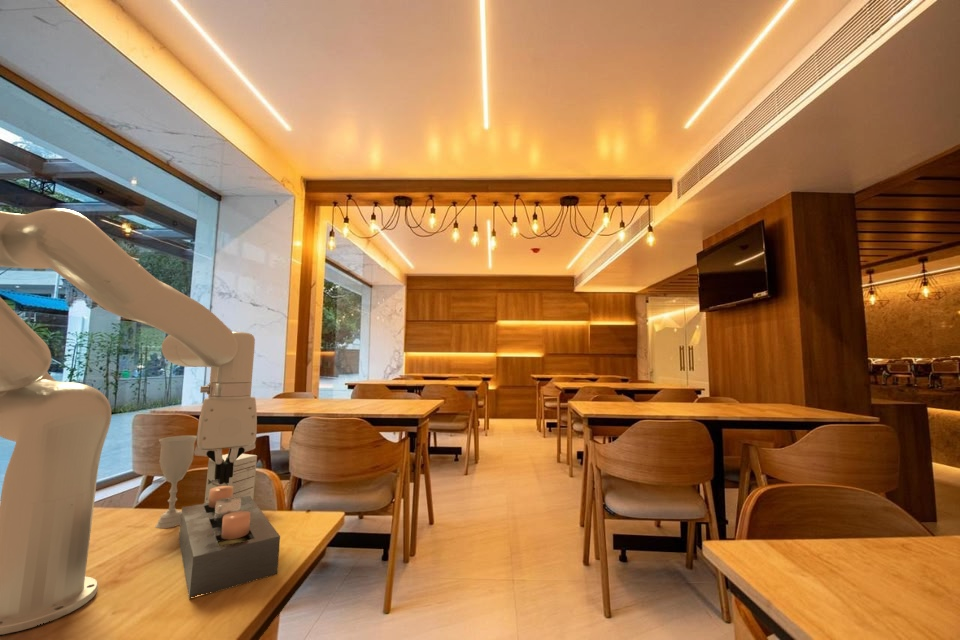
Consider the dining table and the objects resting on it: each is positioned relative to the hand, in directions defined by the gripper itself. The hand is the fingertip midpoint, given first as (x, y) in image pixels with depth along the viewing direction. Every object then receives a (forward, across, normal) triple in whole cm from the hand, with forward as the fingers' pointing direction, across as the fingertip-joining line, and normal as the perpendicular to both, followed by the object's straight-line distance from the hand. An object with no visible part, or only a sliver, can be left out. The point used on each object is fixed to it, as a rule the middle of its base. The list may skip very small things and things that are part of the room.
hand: (223, 482), depth 81 cm
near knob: (+4, 0, -18) cm, 19 cm away
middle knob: (+4, 0, -9) cm, 10 cm away
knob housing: (+11, 0, -9) cm, 14 cm away
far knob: (+4, 0, 0) cm, 4 cm away
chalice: (+11, -7, +14) cm, 19 cm away
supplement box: (+11, +4, +15) cm, 19 cm away
